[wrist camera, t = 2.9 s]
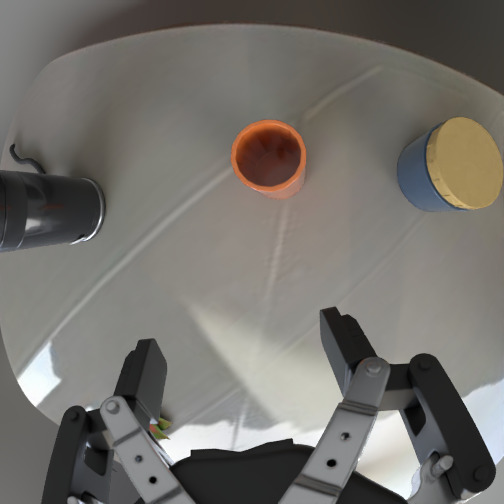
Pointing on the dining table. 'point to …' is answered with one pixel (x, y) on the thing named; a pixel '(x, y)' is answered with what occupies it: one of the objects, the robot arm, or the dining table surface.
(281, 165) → the cup
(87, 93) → the dining table surface
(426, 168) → the jar
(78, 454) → the robot arm
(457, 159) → the jar lid
